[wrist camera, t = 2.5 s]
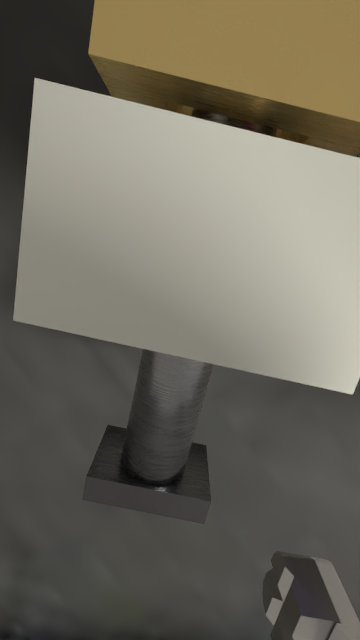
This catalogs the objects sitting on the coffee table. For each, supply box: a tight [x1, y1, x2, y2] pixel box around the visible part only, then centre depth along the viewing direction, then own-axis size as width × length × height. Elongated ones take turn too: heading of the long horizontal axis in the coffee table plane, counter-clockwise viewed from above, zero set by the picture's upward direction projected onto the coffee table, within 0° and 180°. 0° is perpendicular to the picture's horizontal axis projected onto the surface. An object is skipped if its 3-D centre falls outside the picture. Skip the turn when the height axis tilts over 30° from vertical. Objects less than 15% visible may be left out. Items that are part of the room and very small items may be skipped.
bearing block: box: [13, 78, 360, 395], centre depth 14 cm, size 12×12×12 cm
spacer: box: [88, 0, 360, 157], centre depth 12 cm, size 3×8×8 cm, turn 77°
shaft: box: [82, 108, 277, 524], centre depth 13 cm, size 19×5×4 cm, turn 167°
